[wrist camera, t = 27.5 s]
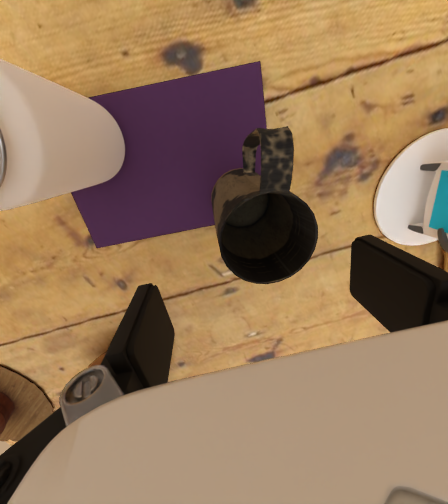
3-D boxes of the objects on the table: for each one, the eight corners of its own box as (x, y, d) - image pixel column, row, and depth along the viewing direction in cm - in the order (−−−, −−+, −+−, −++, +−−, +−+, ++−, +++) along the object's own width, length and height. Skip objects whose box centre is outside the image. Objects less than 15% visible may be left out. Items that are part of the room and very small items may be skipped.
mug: (268, 226, 23) (324, 297, 12) (213, 230, 22) (218, 306, 11) (271, 138, 19) (352, 120, 8) (206, 142, 19) (204, 128, 8)
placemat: (99, 246, 23) (96, 248, 22) (37, 110, 18) (32, 109, 17) (273, 211, 23) (274, 213, 22) (258, 63, 18) (260, 60, 17)
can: (25, 117, 18) (-277, 62, 7) (96, 80, 17) (-108, -50, 6) (78, 195, 20) (-77, 246, 9) (141, 165, 20) (56, 183, 9)
